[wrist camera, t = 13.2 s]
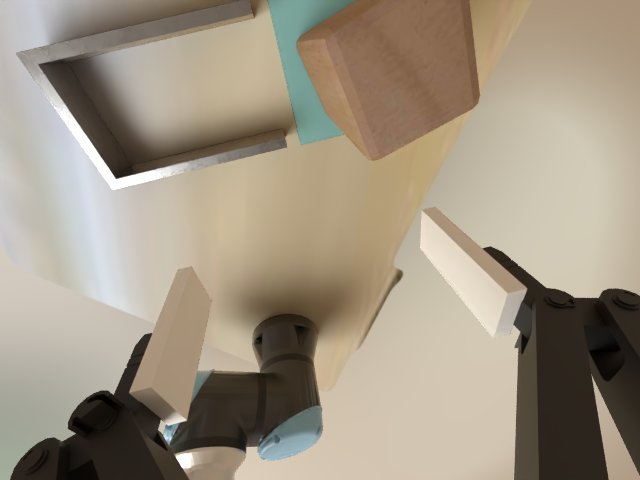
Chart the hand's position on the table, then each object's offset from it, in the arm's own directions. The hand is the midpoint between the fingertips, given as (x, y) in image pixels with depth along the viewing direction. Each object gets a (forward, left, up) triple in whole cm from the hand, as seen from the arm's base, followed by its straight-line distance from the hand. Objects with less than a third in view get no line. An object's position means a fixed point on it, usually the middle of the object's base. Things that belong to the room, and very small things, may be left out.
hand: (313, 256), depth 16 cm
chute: (+7, +11, -29) cm, 32 cm away
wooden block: (+6, -10, -29) cm, 31 cm away
